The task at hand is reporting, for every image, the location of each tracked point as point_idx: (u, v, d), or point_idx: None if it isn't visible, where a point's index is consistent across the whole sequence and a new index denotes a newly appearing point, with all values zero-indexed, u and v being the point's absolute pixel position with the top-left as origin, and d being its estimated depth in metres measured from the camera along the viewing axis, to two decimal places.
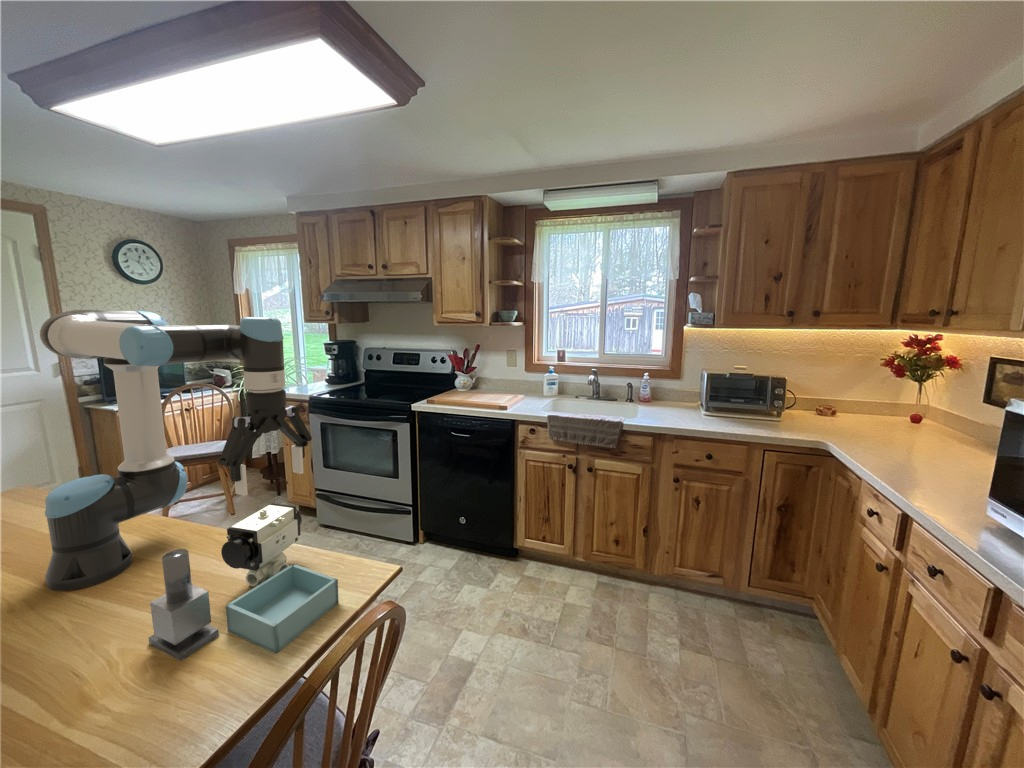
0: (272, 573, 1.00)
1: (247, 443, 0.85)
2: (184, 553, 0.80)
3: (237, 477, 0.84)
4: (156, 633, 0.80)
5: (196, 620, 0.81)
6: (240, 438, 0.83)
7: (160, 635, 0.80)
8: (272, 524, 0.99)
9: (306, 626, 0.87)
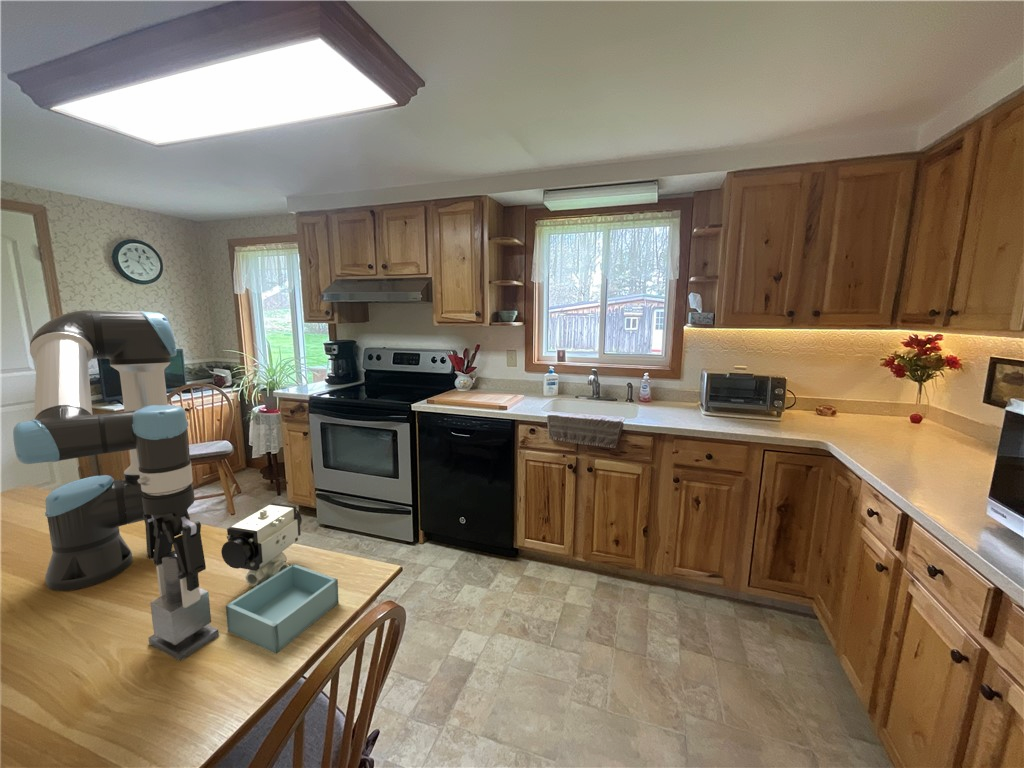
0: (272, 573, 1.00)
1: None
2: None
3: None
4: (156, 633, 0.80)
5: (196, 620, 0.81)
6: (148, 533, 0.80)
7: (160, 635, 0.80)
8: (272, 524, 0.99)
9: (306, 626, 0.87)
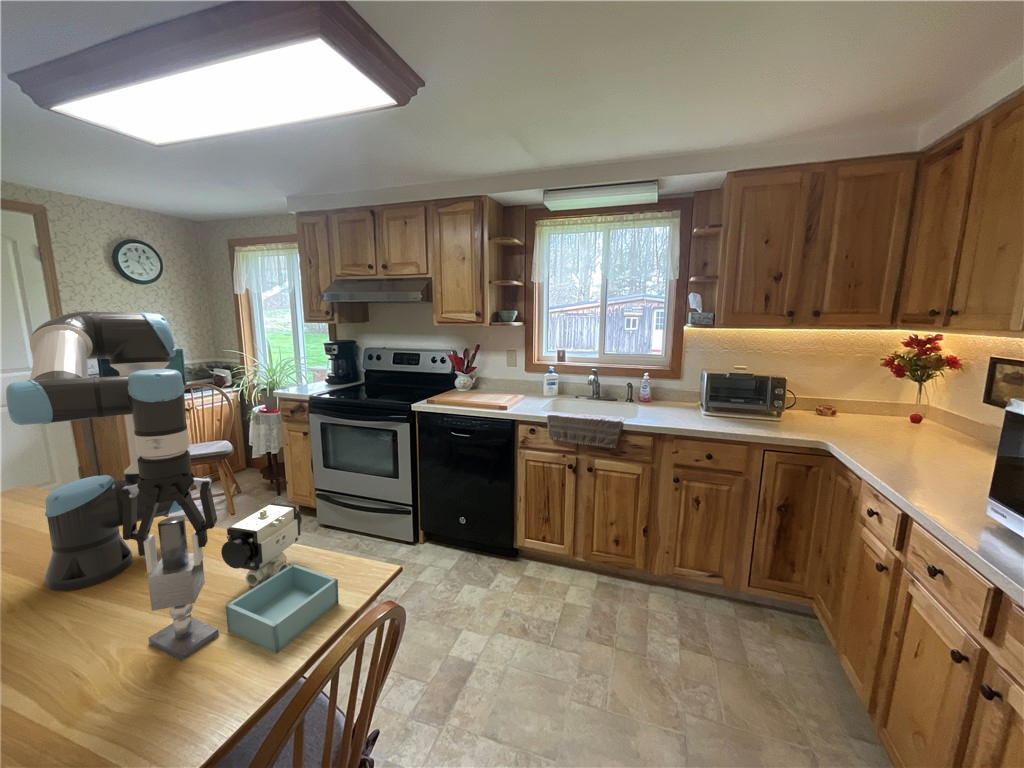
0: (272, 573, 1.00)
1: None
2: (179, 518, 0.80)
3: (141, 552, 0.77)
4: (157, 607, 0.78)
5: (199, 579, 0.83)
6: (129, 510, 0.75)
7: (165, 606, 0.78)
8: (272, 524, 0.99)
9: (306, 626, 0.87)
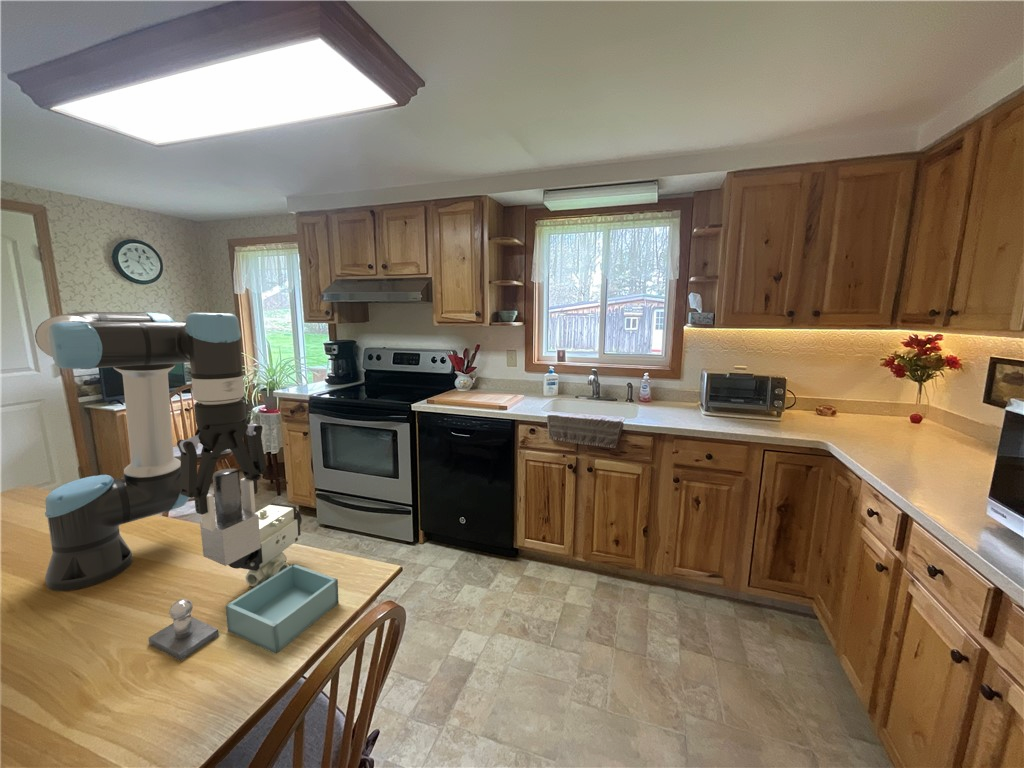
0: (272, 573, 1.00)
1: (206, 469, 0.72)
2: (227, 469, 0.77)
3: (203, 509, 0.72)
4: (230, 561, 0.75)
5: None
6: (195, 464, 0.70)
7: (237, 557, 0.76)
8: (272, 524, 0.99)
9: (306, 626, 0.87)
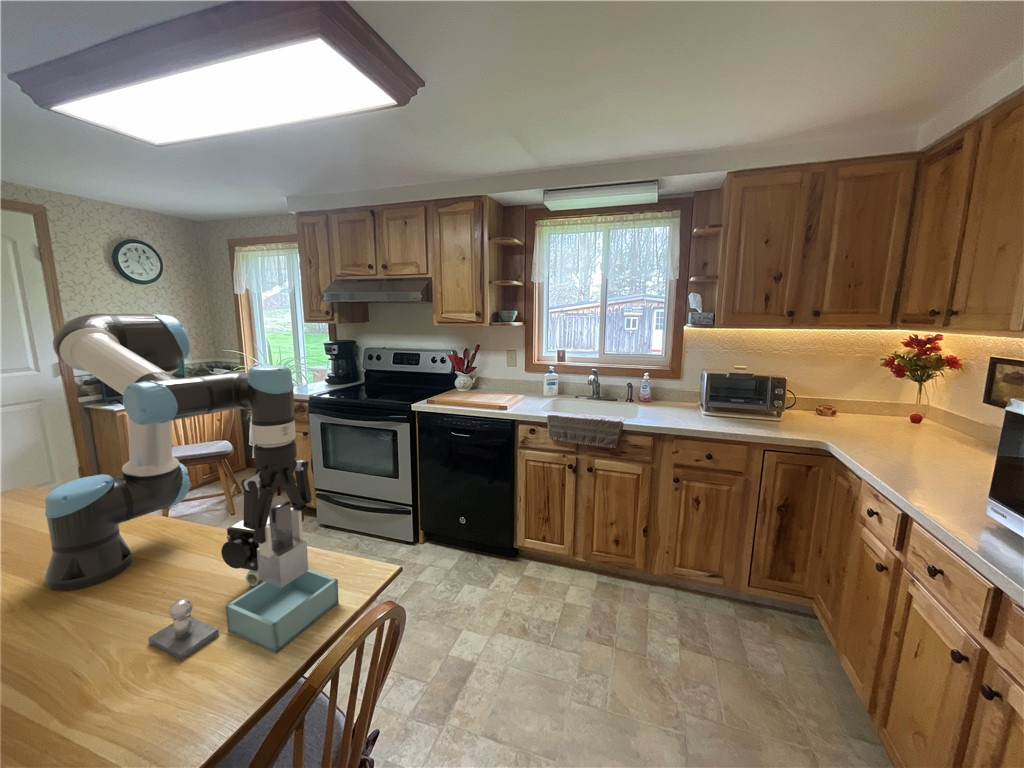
0: None
1: (265, 503, 0.82)
2: (279, 502, 0.87)
3: (262, 539, 0.82)
4: (284, 583, 0.85)
5: None
6: (256, 500, 0.80)
7: (290, 579, 0.86)
8: None
9: (306, 626, 0.87)
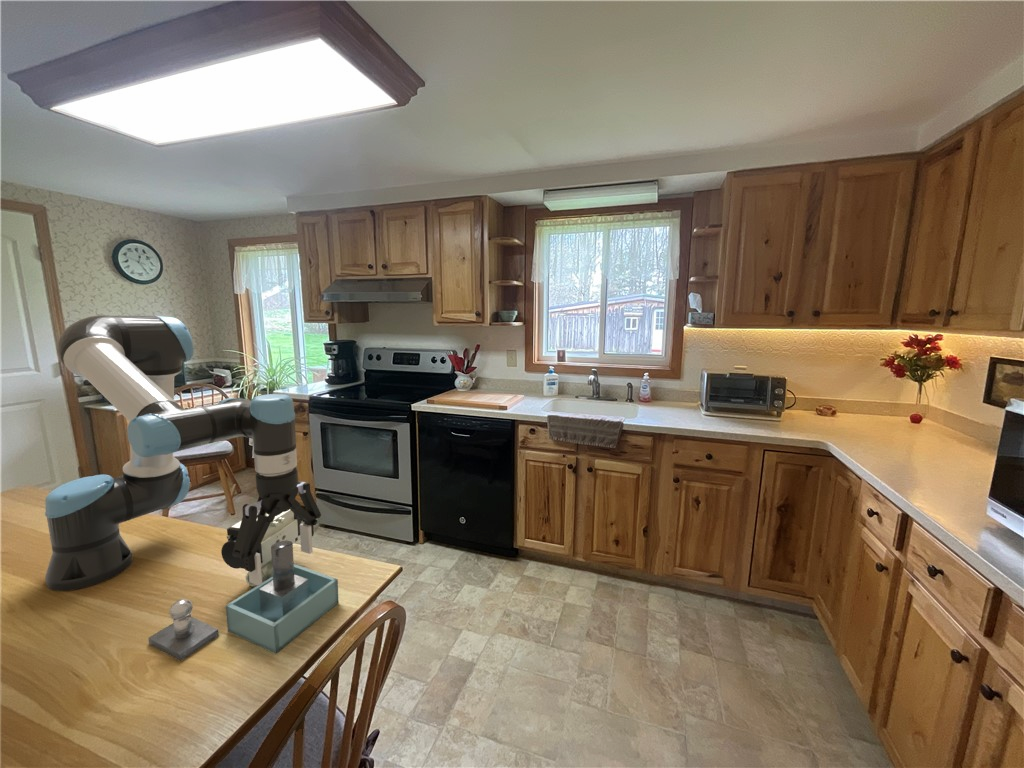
0: (272, 573, 1.00)
1: (260, 530, 0.81)
2: (282, 542, 0.89)
3: (251, 567, 0.81)
4: None
5: None
6: (253, 527, 0.80)
7: None
8: (272, 524, 0.99)
9: (306, 626, 0.87)
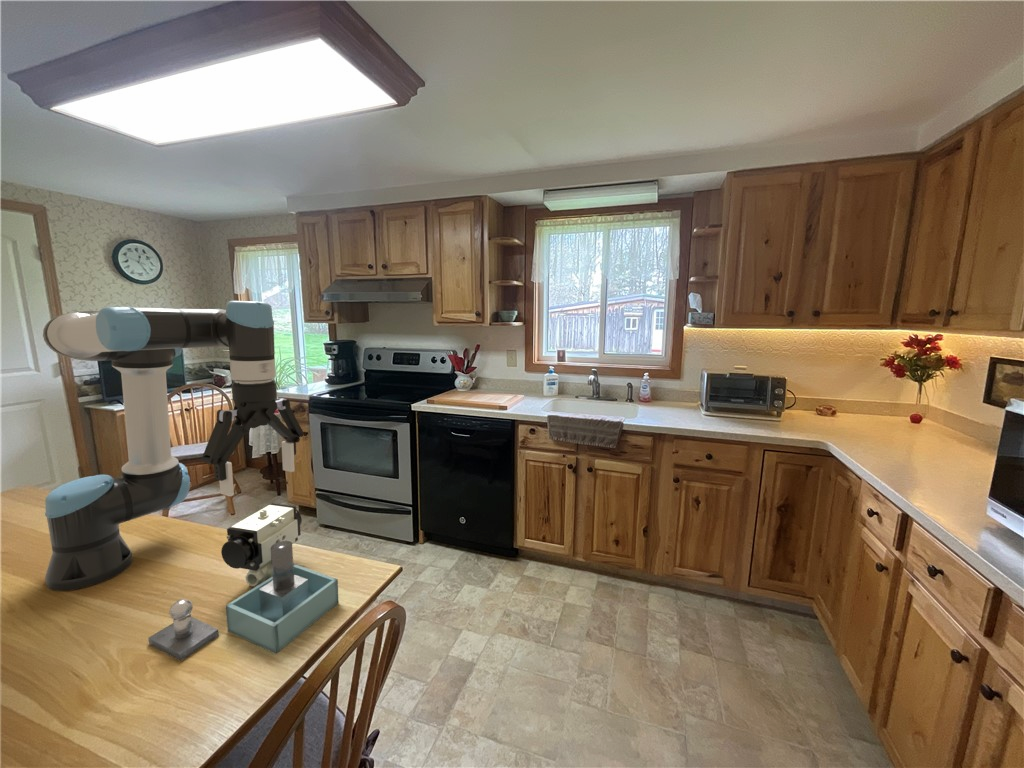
0: None
1: (233, 439, 0.78)
2: (281, 542, 0.89)
3: (222, 476, 0.77)
4: None
5: None
6: (226, 433, 0.76)
7: None
8: (272, 524, 0.99)
9: (306, 626, 0.87)
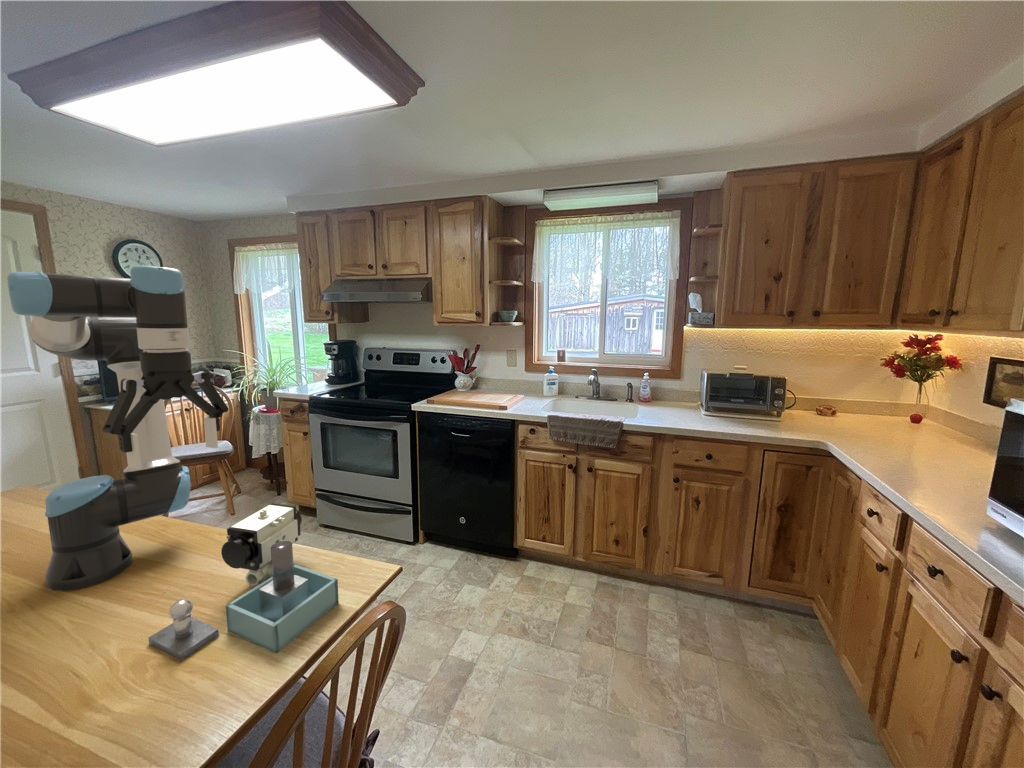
0: None
1: (140, 409, 0.75)
2: (281, 542, 0.89)
3: (127, 447, 0.74)
4: None
5: None
6: (129, 403, 0.73)
7: None
8: (272, 524, 0.99)
9: (306, 626, 0.87)
